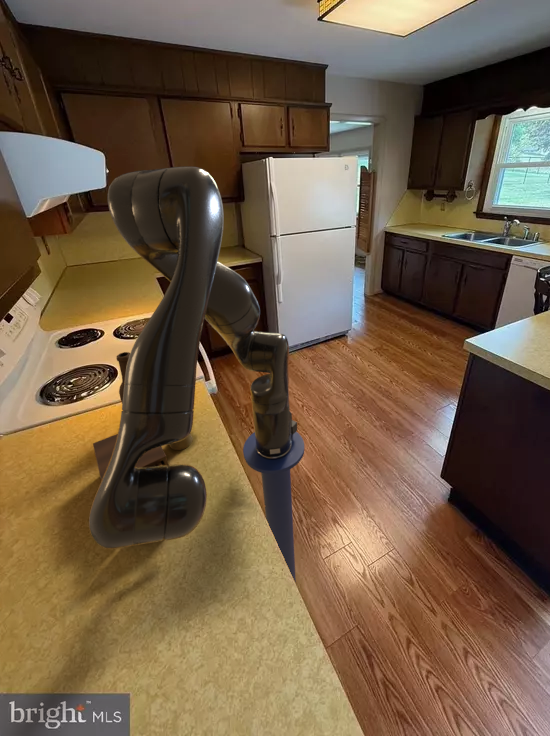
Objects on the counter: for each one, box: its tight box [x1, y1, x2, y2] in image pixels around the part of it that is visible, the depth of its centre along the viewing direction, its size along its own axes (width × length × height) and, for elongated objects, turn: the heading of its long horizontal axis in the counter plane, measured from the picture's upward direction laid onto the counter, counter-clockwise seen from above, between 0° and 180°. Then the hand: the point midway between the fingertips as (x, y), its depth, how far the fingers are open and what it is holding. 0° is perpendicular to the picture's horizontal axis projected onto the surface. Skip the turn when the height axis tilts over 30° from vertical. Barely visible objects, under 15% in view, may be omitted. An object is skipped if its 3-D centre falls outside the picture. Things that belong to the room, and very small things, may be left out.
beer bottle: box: [116, 351, 131, 403], centre depth 91 cm, size 8×8×24 cm
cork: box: [169, 432, 194, 451], centre depth 87 cm, size 6×6×11 cm
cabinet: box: [92, 433, 169, 482], centre depth 77 cm, size 15×13×10 cm
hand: (146, 498), depth 61 cm, fingers closed
